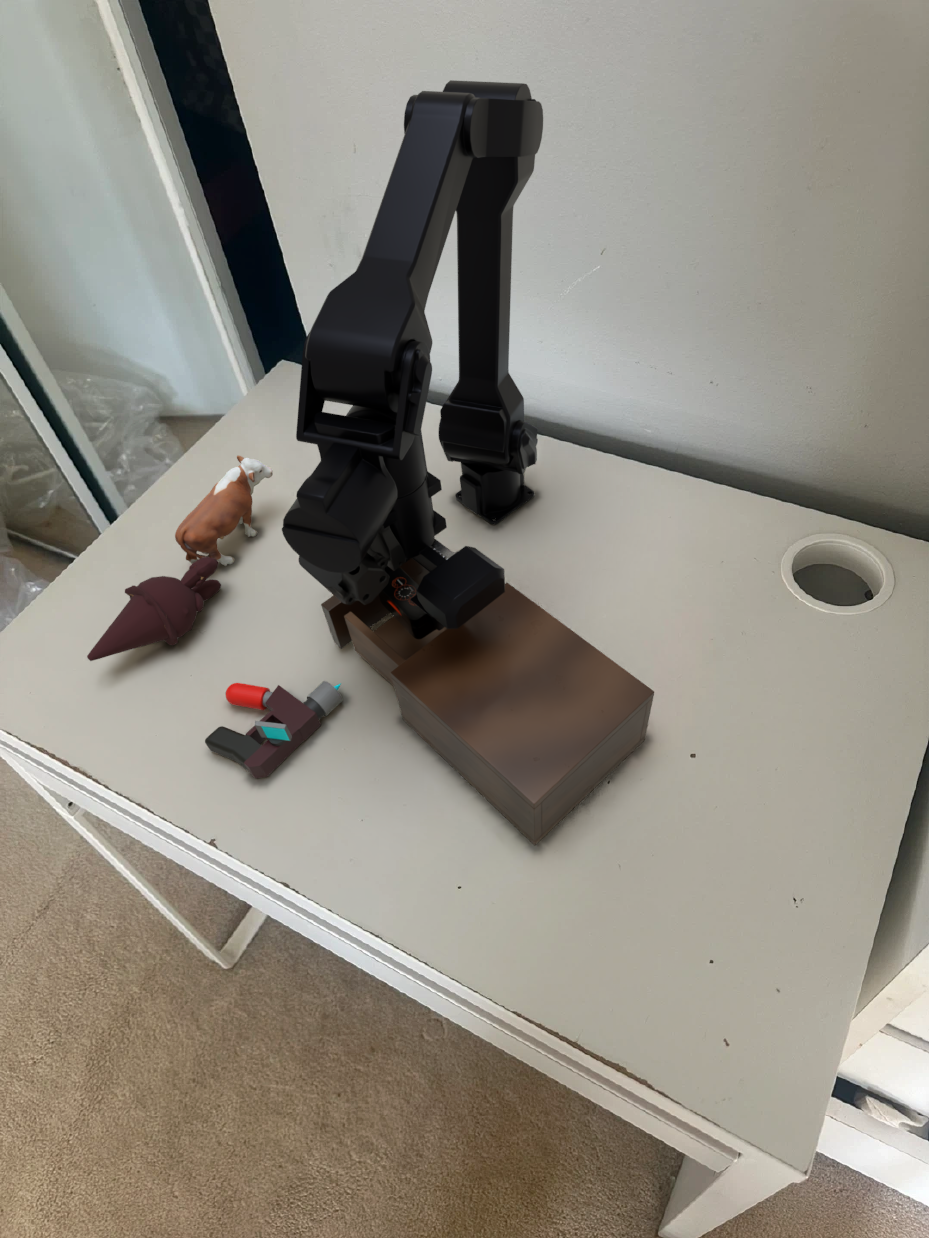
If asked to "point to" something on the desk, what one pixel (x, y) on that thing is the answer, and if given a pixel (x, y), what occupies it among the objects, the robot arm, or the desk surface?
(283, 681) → the desk surface
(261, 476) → the bull figurine
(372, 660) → the drawer
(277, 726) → the toy gun
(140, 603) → the icecream
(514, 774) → the cabinet
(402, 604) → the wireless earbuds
